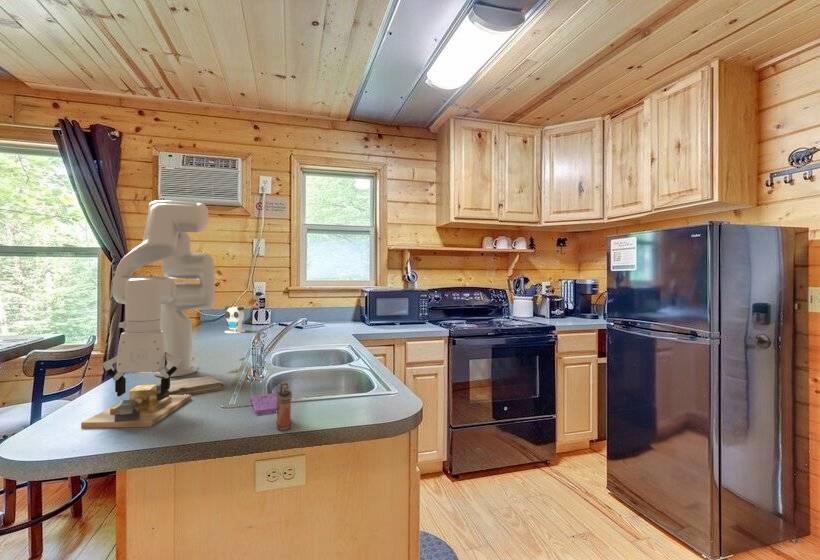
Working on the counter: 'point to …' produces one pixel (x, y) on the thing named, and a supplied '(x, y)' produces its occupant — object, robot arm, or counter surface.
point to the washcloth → (194, 385)
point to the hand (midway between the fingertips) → (143, 393)
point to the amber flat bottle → (283, 408)
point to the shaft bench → (143, 418)
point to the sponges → (264, 403)
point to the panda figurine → (234, 319)
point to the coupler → (144, 396)
